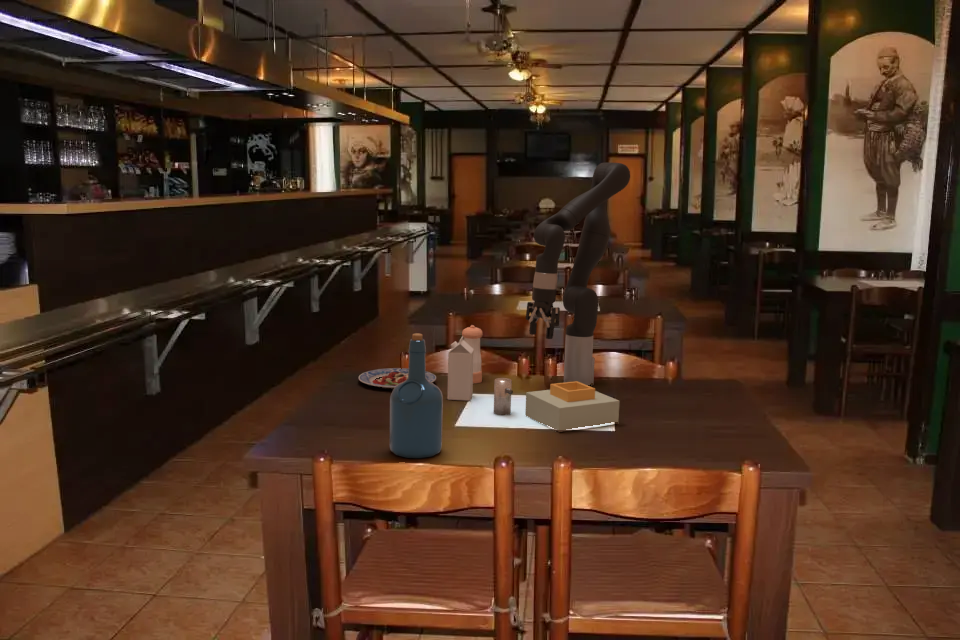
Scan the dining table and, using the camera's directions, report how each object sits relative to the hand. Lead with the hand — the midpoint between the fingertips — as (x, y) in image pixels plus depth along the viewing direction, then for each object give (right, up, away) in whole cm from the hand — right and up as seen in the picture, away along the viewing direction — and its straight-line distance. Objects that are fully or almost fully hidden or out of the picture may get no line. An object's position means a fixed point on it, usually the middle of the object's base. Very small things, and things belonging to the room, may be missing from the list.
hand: (540, 336), depth 268 cm
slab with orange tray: (+7, -23, -28) cm, 38 cm away
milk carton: (-26, -19, -7) cm, 33 cm away
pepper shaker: (-23, -16, +14) cm, 31 cm away
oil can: (-13, -22, -24) cm, 35 cm away
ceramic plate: (-47, -16, +9) cm, 51 cm away
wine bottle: (-36, -28, -59) cm, 75 cm away
